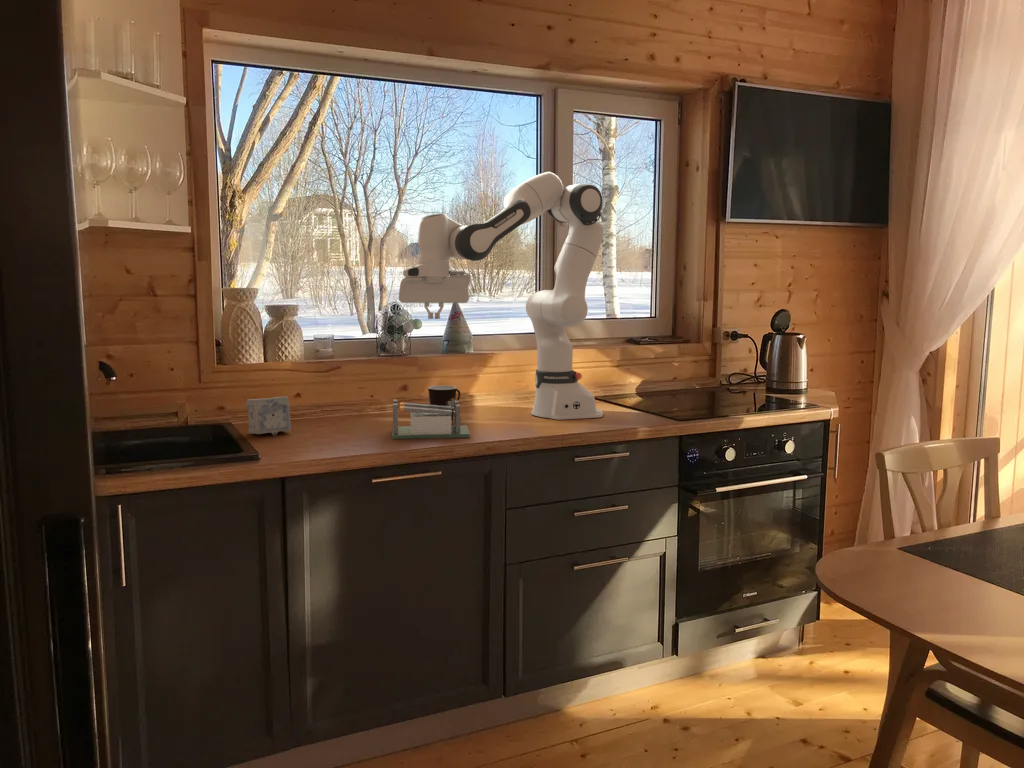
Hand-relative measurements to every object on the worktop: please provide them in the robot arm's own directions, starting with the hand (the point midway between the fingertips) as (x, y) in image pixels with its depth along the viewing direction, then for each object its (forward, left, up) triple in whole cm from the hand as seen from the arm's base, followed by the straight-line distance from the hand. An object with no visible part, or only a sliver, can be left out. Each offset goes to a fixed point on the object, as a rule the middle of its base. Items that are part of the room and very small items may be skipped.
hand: (434, 318), depth 236 cm
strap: (+3, +17, -24) cm, 30 cm away
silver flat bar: (+3, +11, -24) cm, 27 cm away
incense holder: (+46, +10, -31) cm, 57 cm away
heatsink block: (+2, +14, -31) cm, 34 cm away
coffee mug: (-4, -6, -31) cm, 32 cm away
